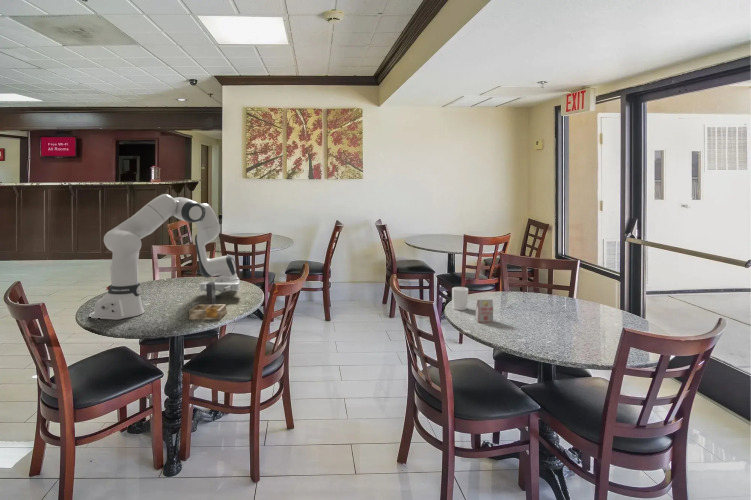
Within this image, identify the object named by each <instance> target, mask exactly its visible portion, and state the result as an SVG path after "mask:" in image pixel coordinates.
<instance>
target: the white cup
mask: <svg viewBox="0 0 751 500" xmlns="http://www.w3.org/2000/svg"><path fill="white" fill-rule="evenodd" d="M468 296H469V288H468V287H464V286H454V287H452V288H451V301H452V309H453V310H455V311H465V310H467V306H468V299H469V297H468Z"/></svg>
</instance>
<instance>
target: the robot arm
mask: <svg viewBox="0 0 751 500" xmlns="http://www.w3.org/2000/svg"><path fill="white" fill-rule="evenodd" d="M171 217H173V218H176V219H178V220H180V221H183V222H187V223H194V224H195V226H196V230H197V233H196V235H195V237H194V244H195V245H194V246H195V250H196V255H197V259H198V265H199V272H200V275H202V276H203V277H205V278H207V279H209V278H212V277H213V278H214V277H215V276H217V277H216V278H215V280H208V281H207V280H206V281H205V280H204V281H202V282H200V283H198V289H199V291H200V292H202V291H205V292H206V284H207V283H209V282H215V292H216V291H217V292H219V293H227V292H231V291H232V292H233V291H235V292H236V291H240V289H241V281H240V277H238V274H237V271H238V270H237V269H238V268H237V264H236V261H235V259H234V258H233V257H232V256H230V255H221V256H218V257H214V258H208V255H207V250H206V245H207V244H209V243H210V242H213V241H214V240H215V239H216V238H217V237H218V236H219V235H220V232H221V225H220V222H219V220H218V218H217V215H216V213H215V211H214V210H213V208H212V207H211V205H210V204H209V203H205V202H203V203H199V202H197V201H195V200H192V199H190V198H187V197H182V196H171V195H170V194H167V193H162V194H160V195H158V196H156V197H154V198H153V199H151V201H149V202H148V203H147V204H145V205H144V206H143V207H141V209H139V210H138V211H137V212H135V214H133V215H132V216H131V217H129V218H128V219H126V220H124V221H122V222H121V223H120V224H118V225H117V226H115V227H113V228H112V229H111V230H109V231H107V232H106V233H105V235H103V243H104V246H105V247H106V248H107V249H108V250H109V251H111V252H112V256H111V257H112V258H111V265H110V267H109V269H110V270H109V271H110V272H109V274H110V281H111V282H110V285H108V286H107V287H105V291H107V293H106V294H104V295H103V296H102V297H101V298H100V299H98V300H97V301H96V302H95V305H94V308H93V309H94V310H93V311H92V312H90V313H89V314H88V318H89V317H91V318H90V319H98V318H100V319H101V320H115V321H116V320H122V319H126V318H132V317H136V316H139V315H142V314H144V313H145V309H144V307H143V303H142V297H141V283H140V282H139V257H140V250H141V248H142V244H143V243H142V241H141V239H144V238H145V237H147V236H149V235H151V234H153V233H154V232H155V231H156V230H157V229H158V228H159V227H160V226H161V225H163V224H164V223H165V222H166V221H167V220H168V219H169V218H171Z"/></svg>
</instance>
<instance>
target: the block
mask: <svg viewBox="0 0 751 500" xmlns="http://www.w3.org/2000/svg"><path fill="white" fill-rule="evenodd" d="M205 292H206V305H217V303H216V291H215V282H209V283H207V284H206V291H205Z"/></svg>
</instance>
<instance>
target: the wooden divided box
mask: <svg viewBox="0 0 751 500" xmlns="http://www.w3.org/2000/svg"><path fill="white" fill-rule="evenodd" d="M227 313H228V309H227V304H216V305H207V304H196V305H195V306H193V307H191V309H189V317H188V320H221V319H222V318H223V317H224V316H225V315H226V314H227Z"/></svg>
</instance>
